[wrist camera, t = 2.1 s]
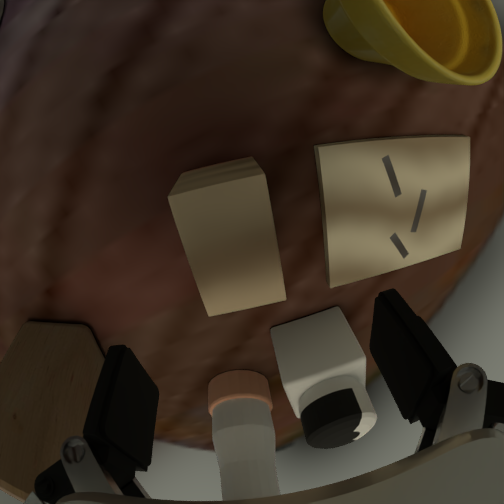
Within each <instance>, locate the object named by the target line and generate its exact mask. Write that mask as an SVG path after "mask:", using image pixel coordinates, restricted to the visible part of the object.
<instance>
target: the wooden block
mask: <svg viewBox="0 0 504 504" xmlns="http://www.w3.org/2000/svg"><path fill="white" fill-rule="evenodd" d="M104 361H105V358H104V356H103V354H102V352H101V350H100V348H99V346H98V344H97V342H96V340H95V338H94V336H93V334H92V332H91V330H90V329H89V328H88V327H87V326H85V325H83V324H64V323H48V322H35V321H28V322H26V323H25V324H23V326H22V327H21V329H20V330H19V332H18V334H17V335H16V337H15V339H14V340H13V342H12V344H11V345H10V347H9V349H8V351H7V353H6V354H5V356H4V358H3V360H2V362H1V364H0V490H2V491H4V492H5V493H7V494H9V495H10V496H12V497H14V498H16V499H17V500H19V501H21V502H23V503H24V502H25V500H26V499H27V498H28V496H29V495H30V494H31V492H32V491H33V492H35V489H34V483H35V479H36V477H37V476H38V475H39V474H40V473H41V472H43V471H44V470H46V469H47V468H49V467H50V466H51V465H53V464H54V463H56V462H57V461H58V460H60V459H61V457H60V449H61V446H62V444H63V442H64V441H65V440H66V439H67V438H69V437H71V436H76V435H77V436H81V437H82V438H83V433H82V432H83V428H84V424H85V421H86V417H87V414H88V410H89V407H90V403H91V400H92V397H93V394H94V390H95V387H96V384H97V381H98V378H99V375H100V372H101V369H102V366H103V363H104Z"/></svg>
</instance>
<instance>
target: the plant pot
mask: <svg viewBox="0 0 504 504" xmlns="http://www.w3.org/2000/svg"><path fill="white" fill-rule="evenodd" d="M323 19H324V23H325V26H326V28H327V31H328V32H329V34H330V36H331V37H332V39H333V40H334V41H335V42H336V43H337V44H338V45H339V46H340V47H341V48H342V49H343V50H344V51H346V52H347V53H349V54H350V55H352V56H354V57H356V58H359V59H361V60H365V61H369V62H377V63H383V64H389V65H393V66H395V67H396V68H398V69H399V70H401V71H403V72H405V73H406V74H408V75H410V76H413V77H415V78H418V79H421V80H425V81H430V82H437V83H446V84H457V85H479V84H482V83H485V82H486V81H488V80H489V79H491V78H492V77H493V76H494V74H495V73H496V72H497V69H498V67H499V65H500V61H501V56H502V35H501V29H500V24H499V21H498V17H497V14H496V11H495V9H494V6H493V4H492V2H491V0H326V2H325V4H324V7H323Z"/></svg>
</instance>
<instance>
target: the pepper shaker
mask: <svg viewBox="0 0 504 504" xmlns="http://www.w3.org/2000/svg"><path fill="white" fill-rule="evenodd" d="M208 407H209V413H210V414H211V416H212V439H213V443H214V447H215V452H216V456H217V460H218V463H219V467H220V476H221V487H222V497H223V501H229V500H243V499H254V498H263V497H270V496H277V495H280V490H279V484H278V479H277V472H276V467H275V431H274V427H273V422H272V418H271V413H270V412H271V410H272V408H273V405H272V400H271V395H270V390H269V385H268V380H267V379H266V378H265V377H264V375H262V374H260V373H258V372H254V371H250V370H234V371H227V372H224V373H222V374H219V375H217V376H216V377H214V378H213V379H212V380H211V381H210V383H209V386H208Z"/></svg>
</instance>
